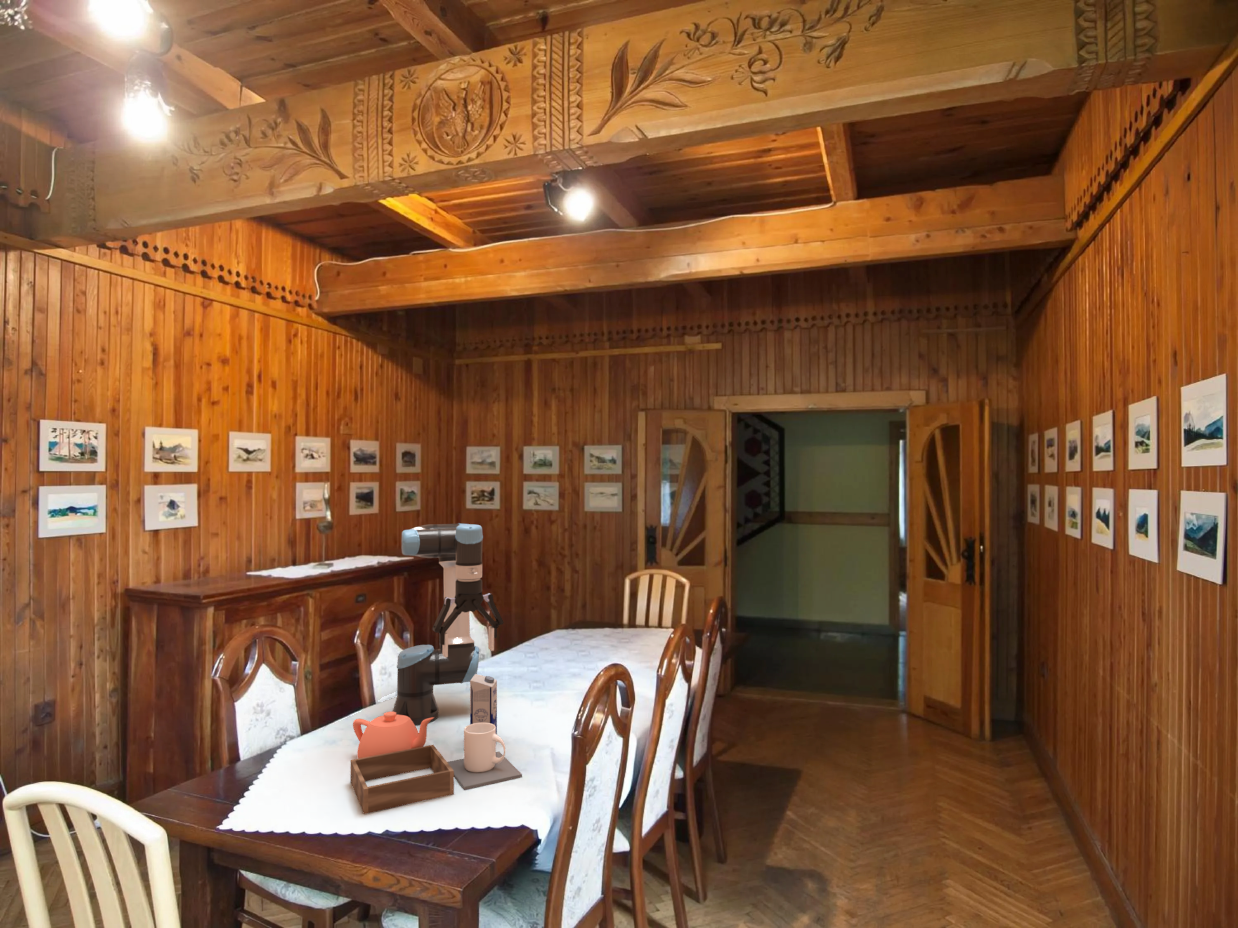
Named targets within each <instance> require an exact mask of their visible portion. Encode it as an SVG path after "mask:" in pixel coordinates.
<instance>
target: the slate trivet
mask: <svg viewBox="0 0 1238 928" xmlns="http://www.w3.org/2000/svg"><path fill="white" fill-rule="evenodd" d="M502 756H503V753H502V752H501V751H496V757H497V758H501V757H502ZM447 763H448V764H449V765H450V766H451V768H452V769H453V770H454V780H456V782H457V783H458V785H460V787H461V788H462V789H463V791H465V790H470V789H471V790H472V789H475V788H479V787H484V786H488V785H492V784H493V785H494V784H497V783H498V784H499V783H501V782H503V783H504V782H507V781H511V780H516V779H520V778H523V774H522V773H521V772H520V771H519V770H518V768H516V767H515V766H514V764H512V762H510V761H509V759H507V757H505V756H504V759H503V760H502V761H501V762H500V763H497V764H495V766H494V767H493V768H492V769H491V770H489V771H485V772H470V771H468V770H466V769H465V766H464V758H461V759H455V760H449V761H447Z"/></svg>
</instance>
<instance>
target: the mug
mask: <svg viewBox="0 0 1238 928" xmlns="http://www.w3.org/2000/svg"><path fill="white" fill-rule="evenodd" d="M463 729H464V730H463V759H464V766H465V769H466V770H468V771H470V772H485V771H489V770H491V769H492V768H493V767H494V766H495V764H497V763H500V762H501V761H502V760H503V759H504V757H505V756H506V745H505V742H504V740H503V739H502V737H500V736H499V735H498V734H497V735H496V726H495V725H493V724H491V723H474V724H470V723H469V724H468V725H467V726H465V727H464V728H463ZM497 743H499V744H500V745H501V747H502V748H503V753H502V755H503V756H502V757H501V758H497V757H496V752H497V748H496V747H497V746H496V745H497Z"/></svg>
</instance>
